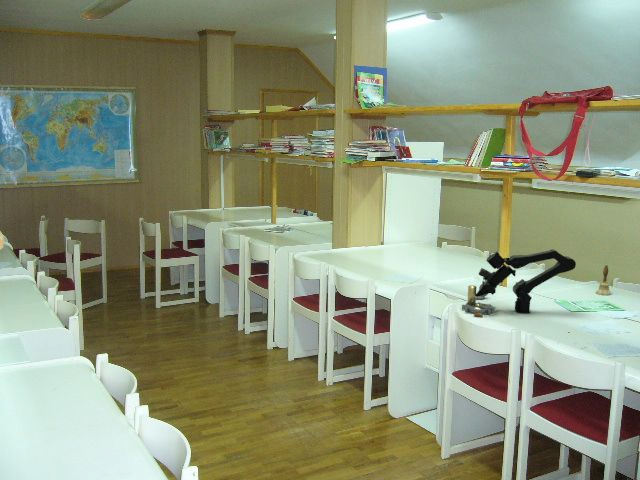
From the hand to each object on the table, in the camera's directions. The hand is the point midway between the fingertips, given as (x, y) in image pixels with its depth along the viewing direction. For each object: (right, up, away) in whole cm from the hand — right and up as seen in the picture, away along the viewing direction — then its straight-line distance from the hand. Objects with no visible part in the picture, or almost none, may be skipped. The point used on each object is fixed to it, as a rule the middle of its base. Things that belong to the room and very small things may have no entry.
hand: (476, 295), depth 333 cm
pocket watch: (+7, -3, +23) cm, 25 cm away
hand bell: (+79, -2, +38) cm, 88 cm away
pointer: (-2, -9, -13) cm, 16 cm away
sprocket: (0, -7, -3) cm, 8 cm away
